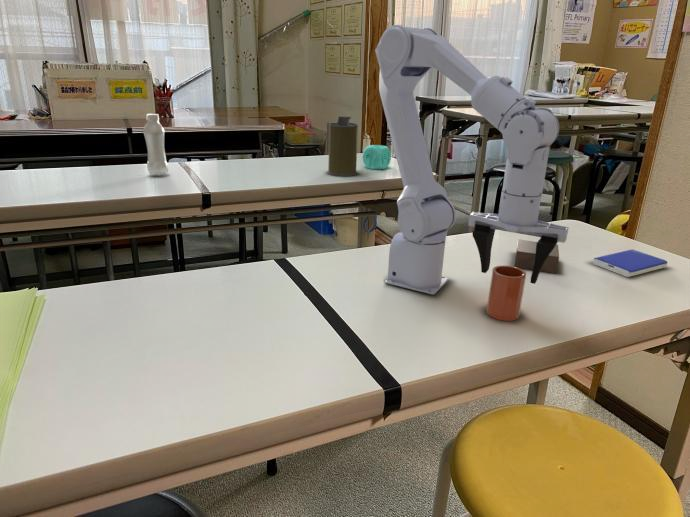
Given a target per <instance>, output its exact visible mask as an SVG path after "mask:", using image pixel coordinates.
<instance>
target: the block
mask: <svg viewBox="0 0 690 517" xmlns="http://www.w3.org/2000/svg"><path fill="white" fill-rule="evenodd" d="M537 242H538V241H533V240H527V239H518V240H517V245H516V251H515V256H514V266H513V267H517V268H520V269H523V270H524V269H525V270H531V271H533V267H534V263H535V255H536V245H537ZM559 260H560V252H559V244H558V243H557V244H556V246H555V247H554V249H553V250H552V251H551V253H550V254H549V256H548V257H547V258H546V260H545V262H544V264H543V266H542V268H541V270H540V272H543V273H544V272H545V273H551V274H557V270H558V264H559Z"/></svg>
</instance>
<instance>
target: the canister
mask: <svg viewBox="0 0 690 517" xmlns="http://www.w3.org/2000/svg"><path fill="white" fill-rule="evenodd" d="M350 119H352V116H349V115H340V116H338V118H337V122H336V121H335V122H333V121H329V122H327V124H326V129H327V130H326V155H328V166H327V167H328V169H327V174H328V175H330V176H334V177H353V176H355V175H357V162H358V161H357V158H358V157H357V156H358V133H359V132H358V131H359V124H358V123H355V122H350Z"/></svg>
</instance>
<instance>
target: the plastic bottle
mask: <svg viewBox="0 0 690 517" xmlns="http://www.w3.org/2000/svg"><path fill="white" fill-rule="evenodd" d="M146 121H147V122H146V123H145V125H144V127H143V131H142V132H143V136H144V140H145V145H146V150H147V171H148V174H149V175H151V176H156V177H160V176H165V175H168V173H169V163H168V161H167V156H166V151H165V150H166V149H165V132H166V131H165V129H164V127H163V125H162V124H161V123H160V116H159V113H146Z"/></svg>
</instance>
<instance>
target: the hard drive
mask: <svg viewBox="0 0 690 517" xmlns="http://www.w3.org/2000/svg"><path fill="white" fill-rule="evenodd" d="M592 264H593V265H595V266H597V267H600V268H603V269H605V270H608V271H611V272H614V273H616V274H619V275H621V276H624V277H626V278H630V277H634V276H637V275H642V274H645V273H650V272H653V271H657V270H660V269H664V268H667V266H668V261H667V260H665V259H663V258H660V257H657V256H654V255H650V254H648V253H645V252H642V251H639V250H636V249H634V248H633V249H627V250H623V251H618V252H614V253H609V254H605V255H601V256H597V257H593V260H592Z"/></svg>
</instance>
